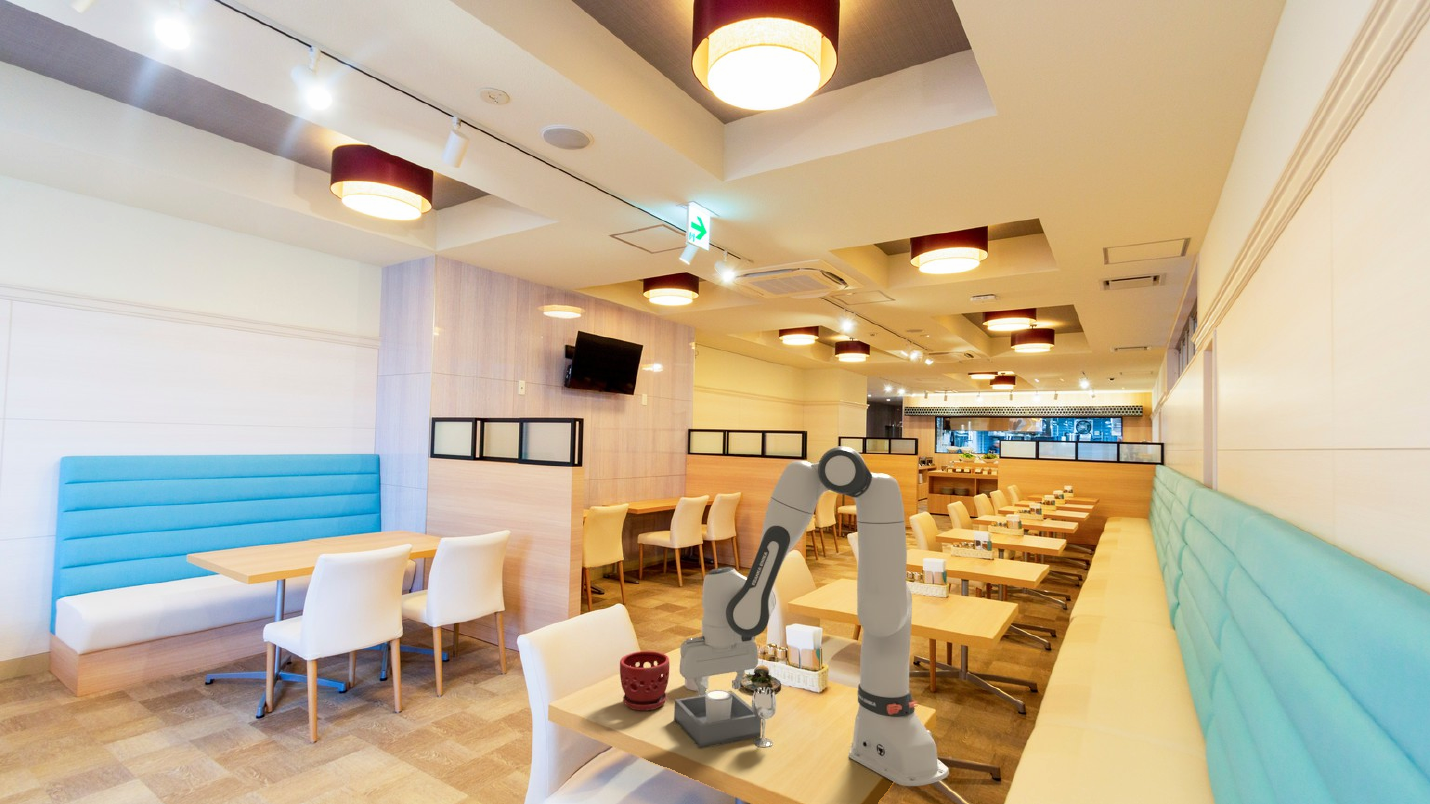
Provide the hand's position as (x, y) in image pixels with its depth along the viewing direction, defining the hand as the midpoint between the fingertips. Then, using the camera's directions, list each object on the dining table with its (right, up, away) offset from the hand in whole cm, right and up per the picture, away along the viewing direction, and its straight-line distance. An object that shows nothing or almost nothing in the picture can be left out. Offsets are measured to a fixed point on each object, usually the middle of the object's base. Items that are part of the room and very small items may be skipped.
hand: (719, 691), depth 160 cm
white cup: (-6, -10, +26) cm, 29 cm away
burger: (+12, -11, +27) cm, 31 cm away
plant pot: (-20, -9, +13) cm, 25 cm away
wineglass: (+10, -9, -7) cm, 16 cm away
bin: (-1, -9, 0) cm, 9 cm away
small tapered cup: (0, -8, 0) cm, 8 cm away
